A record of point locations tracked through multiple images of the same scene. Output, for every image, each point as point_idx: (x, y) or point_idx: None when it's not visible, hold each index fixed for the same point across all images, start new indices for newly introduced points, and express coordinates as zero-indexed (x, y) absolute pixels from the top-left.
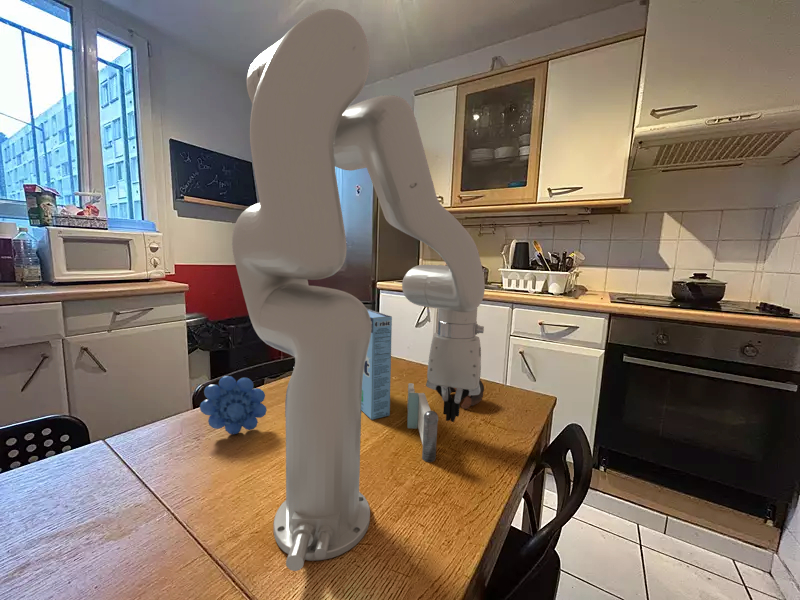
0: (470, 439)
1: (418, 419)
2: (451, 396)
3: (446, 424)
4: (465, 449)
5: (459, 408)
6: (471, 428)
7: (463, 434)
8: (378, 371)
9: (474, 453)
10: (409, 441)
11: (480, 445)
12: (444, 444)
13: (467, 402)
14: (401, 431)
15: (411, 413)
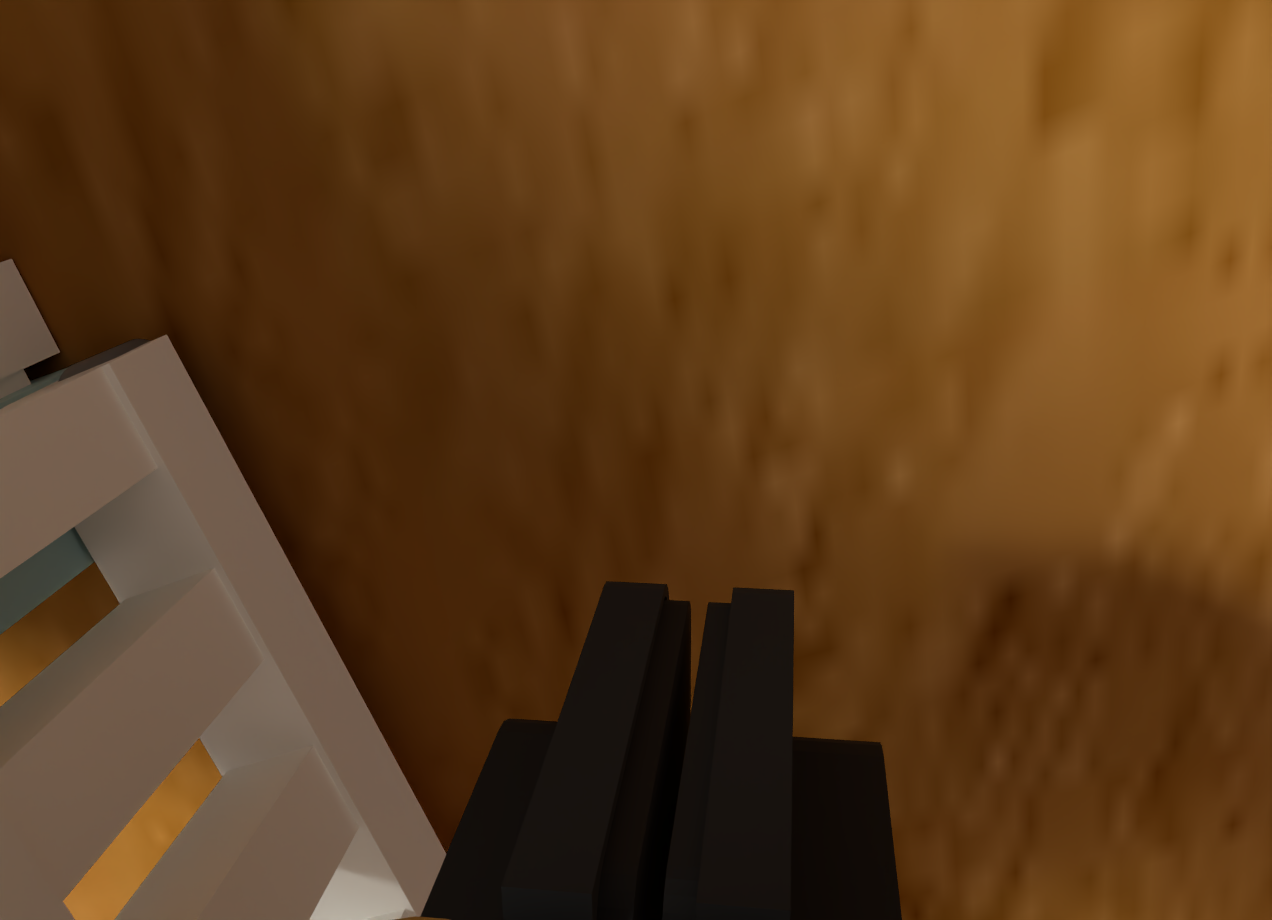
0: (1082, 555)
1: (89, 530)
2: (576, 898)
3: (594, 170)
4: (1001, 837)
5: (889, 813)
6: (1110, 145)
7: (953, 433)
8: None
9: (1136, 894)
10: None
11: (1249, 680)
12: None
13: None
14: (8, 651)
15: None
